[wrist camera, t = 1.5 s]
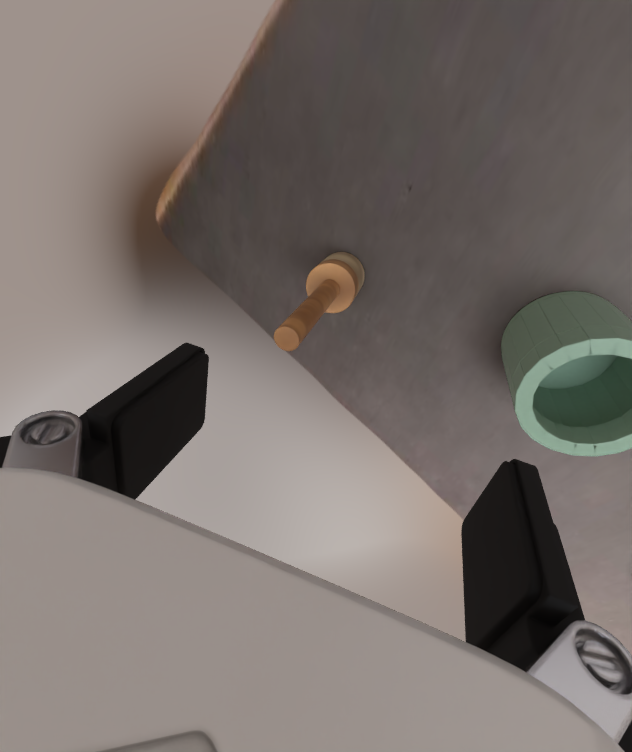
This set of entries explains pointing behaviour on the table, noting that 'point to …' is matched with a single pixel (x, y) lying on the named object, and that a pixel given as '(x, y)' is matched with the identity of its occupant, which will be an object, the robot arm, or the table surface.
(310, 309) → the wooden stamp
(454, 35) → the table surface
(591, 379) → the jar
